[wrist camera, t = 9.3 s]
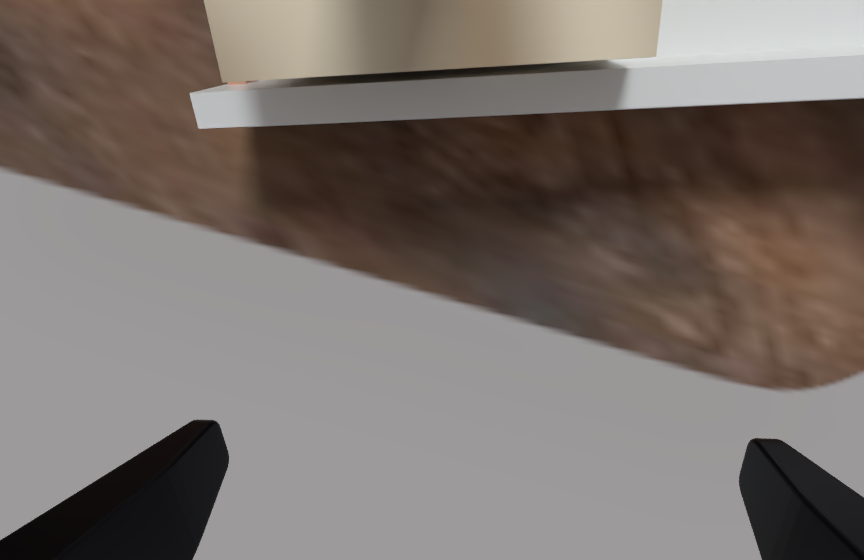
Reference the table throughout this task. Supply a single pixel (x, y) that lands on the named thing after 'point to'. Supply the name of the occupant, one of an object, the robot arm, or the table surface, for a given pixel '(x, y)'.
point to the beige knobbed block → (422, 35)
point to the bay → (592, 73)
